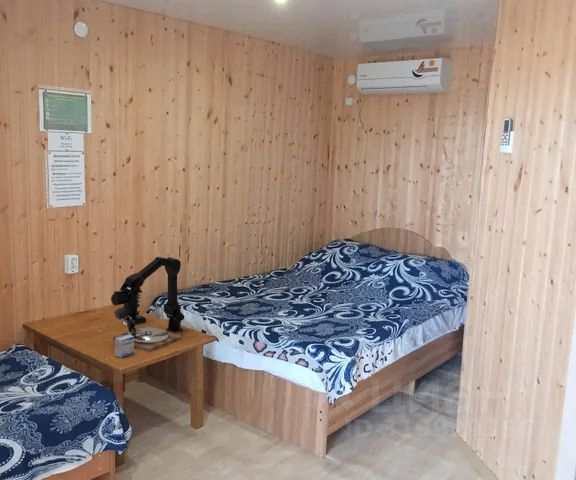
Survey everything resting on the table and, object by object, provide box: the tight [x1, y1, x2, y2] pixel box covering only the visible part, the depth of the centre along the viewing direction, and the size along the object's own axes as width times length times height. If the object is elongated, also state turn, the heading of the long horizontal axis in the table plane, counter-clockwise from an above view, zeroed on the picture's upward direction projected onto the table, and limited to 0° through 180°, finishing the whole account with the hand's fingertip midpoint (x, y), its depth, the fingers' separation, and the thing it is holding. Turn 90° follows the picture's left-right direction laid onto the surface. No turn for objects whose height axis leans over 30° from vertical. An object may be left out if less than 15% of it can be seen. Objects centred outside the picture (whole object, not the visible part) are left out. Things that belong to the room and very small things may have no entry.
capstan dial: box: [128, 327, 168, 343], centre depth 289 cm, size 20×20×6 cm
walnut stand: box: [112, 325, 183, 353], centre depth 289 cm, size 24×24×2 cm
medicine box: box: [114, 335, 135, 359], centre depth 267 cm, size 8×4×9 cm, turn 148°
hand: (130, 332), depth 285 cm, fingers closed
